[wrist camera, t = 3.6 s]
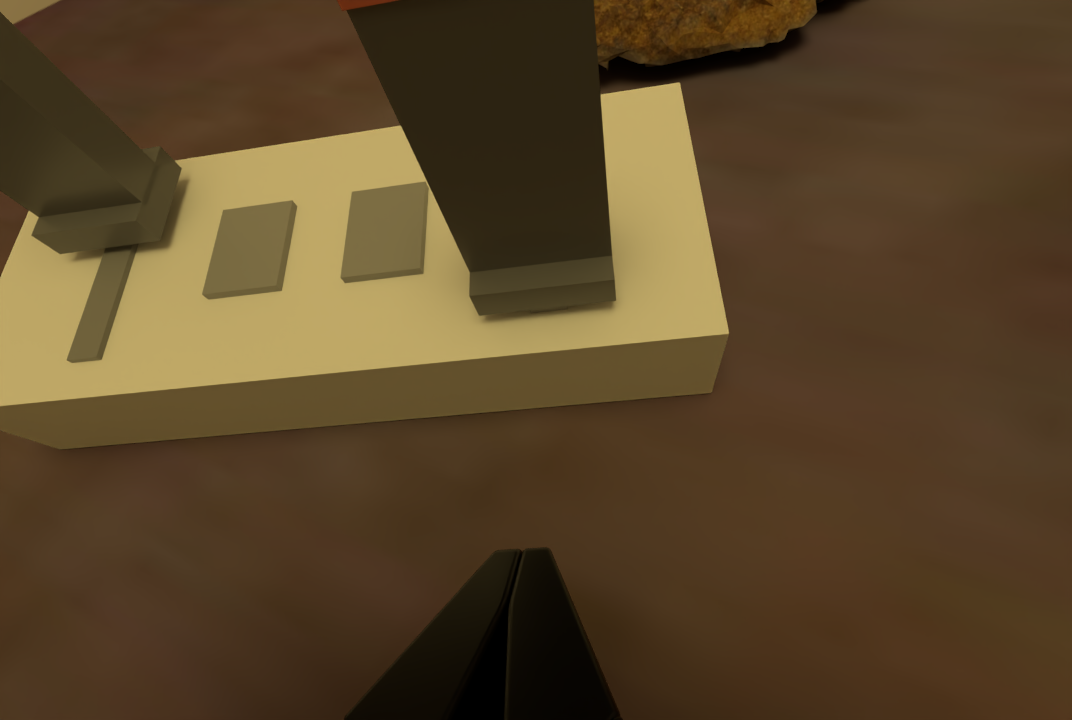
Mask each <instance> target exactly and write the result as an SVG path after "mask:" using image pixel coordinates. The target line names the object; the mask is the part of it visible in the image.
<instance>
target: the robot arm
mask: <svg viewBox="0 0 1072 720" xmlns="http://www.w3.org/2000/svg"><path fill="white" fill-rule="evenodd" d="M344 720H623V719H622V718H621V717H620V713H619V710H618V708H617V706H616V703H615V701H614V698H613V696H612V694H611V691H610V689H609V687H608V684H607V682H606V680H605V677H604V675H603V672H602V670H601V668H600V665H599V663H598V661H597V658H596V656H595V654H594V651H593V649H592V646H591V644H590V642H589V639H588V637H587V635H586V632H585V630H584V627H583V625H582V623H581V620H580V618H579V616H578V613H577V611H576V609H575V606H574V604H573V601H572V599H571V597H570V594H569V592H568V590H567V587H566V585H565V583H564V580H563V578H562V575H561V573H560V571H559V568H558V566H557V564H556V561H555V559H554V556H553V554H552V552H551V550H550V549H549V548H547V547H543V548H527V549H525V550H524V551H523V552H522V551H521V550H520V549H508V550H497V551H495V552H494V553H493V554H492V555H491V556H490V557H489V558H488V559H487V560H486V561H485V562H484V563H483V565H482V566H481V567H480V568H479V569H478V570H477V571H476V572H475V573H474V574H473V576H472V577H471V578H470V579H469V580H468V581H467V582H466V583H465V584H464V586H463V587H462V588H461V589H460V590H459V591H458V592H457V593H456V594H455V595H454V597H453V598H452V599H451V600H450V601H449V602H448V603H447V604H446V605H445V606H444V608H443V609H442V610H441V611H440V612H439V613H438V614H437V615H436V616H435V618H434V619H433V620H432V621H431V622H430V623H429V624H428V625H427V626H426V627H425V629H424V630H423V631H422V632H421V633H420V634H419V635H418V636H417V637H416V639H415V640H414V641H413V642H412V643H411V644H410V645H409V646H408V647H407V648H406V650H405V651H404V652H403V653H402V654H401V655H400V656H399V657H398V658H397V660H396V661H395V662H394V663H393V664H392V665H391V666H390V667H389V668H388V669H387V671H386V672H385V673H384V674H383V675H382V676H381V677H380V678H379V679H378V680H377V682H376V683H375V684H374V685H373V686H372V687H371V688H370V689H369V690H368V692H367V693H366V694H365V695H364V696H363V697H362V698H361V699H360V700H359V701H358V703H357V704H356V705H355V706H354V707H353V708H352V709H351V710H350V711H349V713H348V714H347V715H346V716H345V718H344Z"/></svg>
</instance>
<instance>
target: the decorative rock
mask: <svg viewBox="0 0 1072 720" xmlns="http://www.w3.org/2000/svg"><path fill="white" fill-rule="evenodd" d="M823 1H824V0H594V12H595V26H596V40H597V53H598V64H600V65H601V66H603V67H605V68H606V69H607V71H608V68H609V61H610V60H612V59H613V58H615V57H617V56H619V57H622V58H625V59H628V60H630V61H633V62H636V63H638V64H644V63H645V67H653V66H661V65H666V64H670V63H674V62H679V61H683V60H687V59H694V58H700V57H704V56H707V55H711V54H714V53H719V52H724V51H734V52H740V50H741V49H742V48H750V47H762V46H764V45H766V44H767V43H773V42H780V41H782V40H784V39H785V37H786V34H787V32H790V31H792V30H795V29H798V28H800V27H803V26H804V25H805V24H806V23H807V22H808V21H809V20H810V19H811V18H812V17H813V16H814V15H815V14H816V13H817V8H816V3H819V2H823Z"/></svg>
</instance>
